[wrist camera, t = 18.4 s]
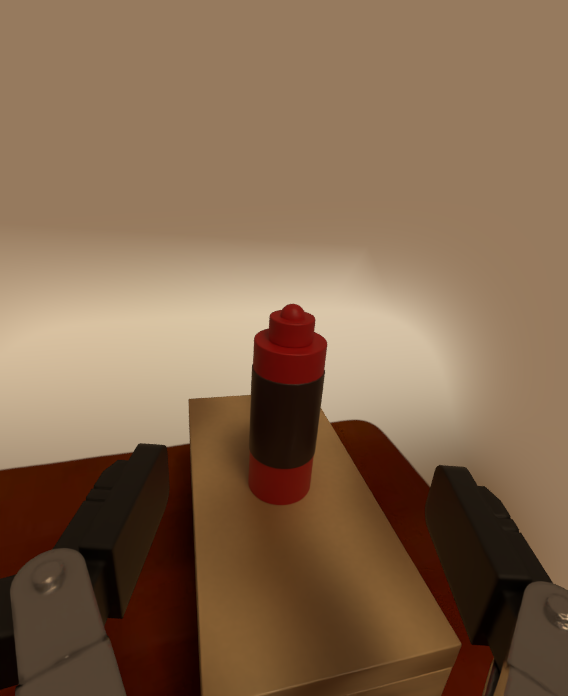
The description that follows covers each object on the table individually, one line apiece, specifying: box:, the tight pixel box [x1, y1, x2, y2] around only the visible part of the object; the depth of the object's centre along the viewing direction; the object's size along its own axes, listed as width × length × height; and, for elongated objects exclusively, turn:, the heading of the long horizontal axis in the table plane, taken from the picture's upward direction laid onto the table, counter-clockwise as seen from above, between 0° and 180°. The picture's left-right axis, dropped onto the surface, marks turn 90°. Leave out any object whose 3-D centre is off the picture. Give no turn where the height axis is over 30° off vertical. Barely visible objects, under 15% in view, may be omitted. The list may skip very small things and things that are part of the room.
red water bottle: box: [248, 304, 327, 505], centre depth 21 cm, size 4×4×11 cm
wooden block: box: [189, 395, 461, 696], centre depth 25 cm, size 10×20×8 cm, turn 14°
